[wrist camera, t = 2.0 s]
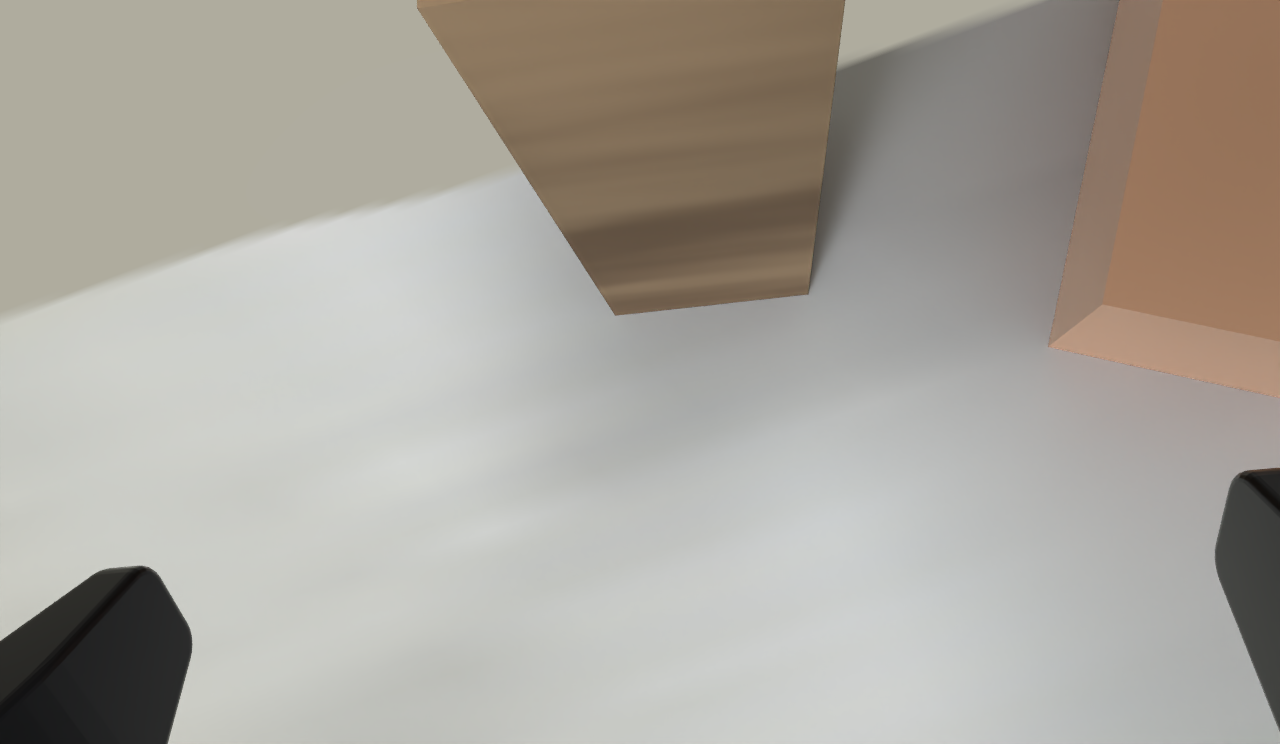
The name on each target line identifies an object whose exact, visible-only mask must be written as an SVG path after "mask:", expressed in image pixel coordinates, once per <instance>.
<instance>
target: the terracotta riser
mask: <svg viewBox="0 0 1280 744" xmlns="http://www.w3.org/2000/svg"><path fill="white" fill-rule="evenodd" d="M1048 347H1051V348H1055V349H1060V350H1064V351H1069V352H1073V353H1078V354H1082V355H1087V356H1091V357H1096V358H1100V359H1105V360H1110V361H1114V362H1119V363H1123V364H1128V365H1132V366H1137V367H1141V368H1146V369H1150V370H1155V371H1160V372H1164V373H1169V374H1173V375H1178V376H1182V377H1187V378H1191V379H1196V380H1200V381H1205V382H1210V383H1214V384H1219V385H1223V386H1228V387H1232V388H1237V389H1241V390H1246V391H1250V392H1255V393H1259V394H1264V395H1269V396H1273V397H1278V398H1280V0H1119V4H1118V9H1117V14H1116V19H1115V24H1114V28H1113V33H1112V38H1111V43H1110V48H1109V53H1108V58H1107V62H1106V67H1105V72H1104V77H1103V82H1102V87H1101V92H1100V96H1099V101H1098V106H1097V111H1096V116H1095V121H1094V126H1093V130H1092V135H1091V140H1090V145H1089V150H1088V155H1087V160H1086V164H1085V169H1084V174H1083V179H1082V184H1081V189H1080V194H1079V198H1078V203H1077V208H1076V213H1075V218H1074V223H1073V228H1072V232H1071V237H1070V242H1069V247H1068V252H1067V257H1066V262H1065V266H1064V271H1063V276H1062V281H1061V286H1060V291H1059V296H1058V300H1057V305H1056V310H1055V315H1054V320H1053V325H1052V330H1051V334H1050V339H1049V344H1048Z"/></svg>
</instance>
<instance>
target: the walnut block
mask: <svg viewBox="0 0 1280 744" xmlns="http://www.w3.org/2000/svg"><path fill="white" fill-rule="evenodd" d="M844 6H845V0H417V9H418V10H419V12H420V13H421V15H422V16H423V18H424V19H425V21H426V23H427V24H428V26H429V27H430V29H431V30H432V32H433V33H434V35H435V36H436V38H437V40H438V41H439V43H440V44H441V46H442V47H443V49H444V50H445V52H446V53H447V55H448V56H449V58H450V60H451V61H452V63H453V64H454V66H455V68H456V69H457V71H458V72H459V74H460V75H461V77H462V78H463V80H464V81H465V83H466V84H467V86H468V88H469V89H470V91H471V92H472V94H473V95H474V97H475V98H476V100H477V101H478V103H479V105H480V106H481V108H482V109H483V111H484V113H485V114H486V115H487V117H488V119H489V120H490V122H491V123H492V125H493V126H494V128H495V129H496V131H497V133H498V134H499V136H500V137H501V139H502V140H503V142H504V144H505V145H506V146H507V148H508V150H509V151H510V153H511V154H512V156H513V158H514V159H515V160H516V162H517V164H518V165H519V167H520V168H521V170H522V171H523V173H524V175H525V176H526V178H527V179H528V181H529V182H530V184H531V185H532V187H533V189H534V190H535V192H536V193H537V195H538V196H539V198H540V199H541V201H542V203H543V204H544V206H545V207H546V209H547V210H548V212H549V213H550V215H551V216H552V218H553V220H554V221H555V223H556V224H557V226H558V227H559V229H560V230H561V232H562V234H563V235H564V237H565V238H566V240H567V241H568V243H569V244H570V246H571V248H572V249H573V251H574V252H575V254H576V255H577V257H578V258H579V260H580V262H581V263H582V265H583V266H584V268H585V269H586V271H587V272H588V274H589V275H590V277H591V279H592V280H593V282H594V283H595V285H596V286H597V288H598V289H599V291H600V293H601V294H602V296H603V297H604V299H605V300H606V302H607V303H608V305H609V307H610V308H611V310H612V311H613V313H614V314H615V315H624V314H634V313H643V312H652V311H661V310H670V309H679V308H688V307H697V306H706V305H715V304H724V303H733V302H742V301H752V300H761V299H770V298H779V297H788V296H797V295H806V294H808V291H809V283H810V275H811V267H812V259H813V251H814V243H815V236H816V228H817V220H818V212H819V204H820V196H821V188H822V180H823V172H824V164H825V156H826V148H827V140H828V132H829V125H830V117H831V109H832V101H833V93H834V85H835V77H836V69H837V61H838V53H839V45H840V37H841V29H842V22H843V13H844Z"/></svg>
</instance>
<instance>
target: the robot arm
mask: <svg viewBox="0 0 1280 744" xmlns="http://www.w3.org/2000/svg"><path fill="white" fill-rule="evenodd" d="M1215 563H1216V569H1217V573H1218V577H1219V580H1220V583H1221V585H1222V588H1223V590H1224V593H1225V595H1226V598H1227V600H1228V603H1229V605H1230V608H1231V610H1232V613H1233V615H1234V618H1235V620H1236V623H1237V625H1238V628H1239V630H1240V633H1241V635H1242V638H1243V640H1244V643H1245V645H1246V648H1247V650H1248V653H1249V656H1250V658H1251V661H1252V663H1253V666H1254V668H1255V671H1256V673H1257V676H1258V678H1259V681H1260V683H1261V686H1262V688H1263V691H1264V693H1265V696H1266V698H1267V701H1268V703H1269V706H1270V708H1271V711H1272V713H1273V716H1274V718H1275V721H1276V723H1277V726H1278V728H1279V731H1280V468H1271V469H1260V470H1248V471H1244V472H1242V473H1239V474H1238V475H1236V476H1235V478H1234V479H1233V480H1232V482H1231V485H1230V488H1229V491H1228V496H1227V500H1226V504H1225V508H1224V513H1223V517H1222V521H1221V525H1220V529H1219V534H1218V538H1217V542H1216V548H1215ZM191 653H192V635H191V631H190V628H189V626H188V624H187V622H186V620H185V618H184V617H183V615H182V613H181V612H180V610H179V608H178V607H177V605H176V603H175V602H174V600H173V598H172V596H171V595H170V593H169V591H168V590H167V588H166V586H165V585H164V583H163V581H162V580H161V578H160V576H159V575H158V574H157V572H155V571H154V570H152V569H151V568H149V567H145V566H131V567H119V568H109V569H105V570H101V571H99V572H97V573H95V574H94V575H92V576H91V577H89V578H88V579H87V580H85V581H84V582H82V583H81V584H80V585H78V586H77V587H75V588H74V589H73V590H71V591H70V592H68V593H67V594H66V595H64V596H63V597H61V598H60V599H59V600H57V601H56V602H54V603H53V604H52V605H50V606H49V607H47V608H46V609H45V610H43V611H42V612H40V613H39V614H38V615H36V616H35V617H33V618H32V619H31V620H29V621H28V622H26V623H25V624H24V625H22V626H21V627H19V628H18V629H17V630H15V631H14V632H12V633H11V634H10V635H8V636H7V637H5V638H4V639H3V640H1V641H0V744H168V740H169V736H170V733H171V729H172V725H173V722H174V718H175V714H176V710H177V707H178V703H179V699H180V696H181V692H182V688H183V684H184V681H185V677H186V673H187V670H188V666H189V662H190V659H191Z"/></svg>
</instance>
